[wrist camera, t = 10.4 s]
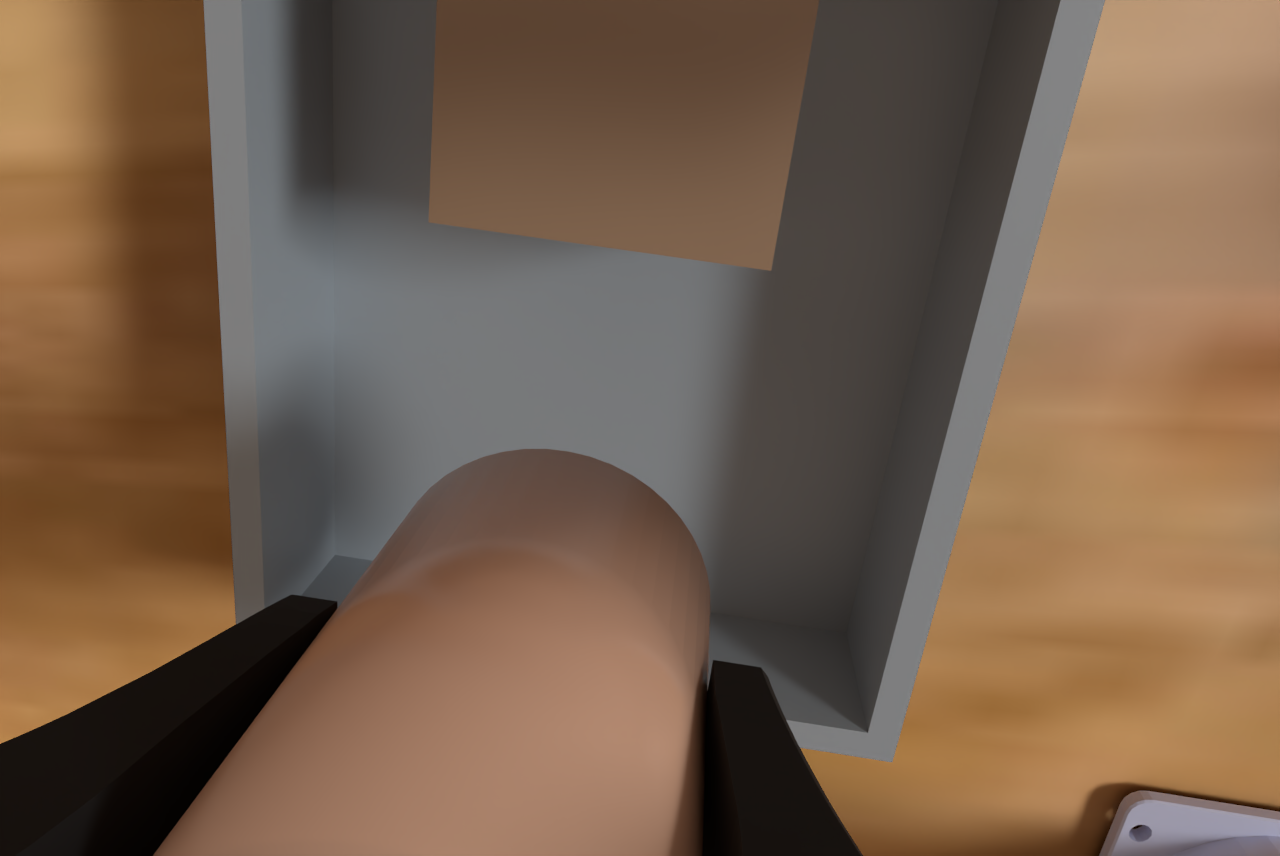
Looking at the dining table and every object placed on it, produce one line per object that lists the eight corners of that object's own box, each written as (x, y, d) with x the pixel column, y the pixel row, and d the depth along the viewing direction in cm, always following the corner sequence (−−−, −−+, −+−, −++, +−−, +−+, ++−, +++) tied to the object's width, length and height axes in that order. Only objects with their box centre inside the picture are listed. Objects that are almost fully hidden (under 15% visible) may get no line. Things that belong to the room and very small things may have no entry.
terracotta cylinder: (680, 755, 14) (640, 1323, 8) (382, 699, 14) (93, 1210, 8) (739, 482, 12) (752, 917, 6) (399, 420, 13) (48, 781, 6)
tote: (863, 644, 21) (892, 762, 18) (321, 560, 22) (237, 657, 18) (1060, -146, 15) (1165, -219, 12) (312, -233, 16) (185, -328, 12)
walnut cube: (759, 221, 18) (771, 271, 13) (507, 186, 18) (429, 222, 13) (808, -68, 16) (843, -132, 11) (527, -103, 16) (443, -181, 11)
